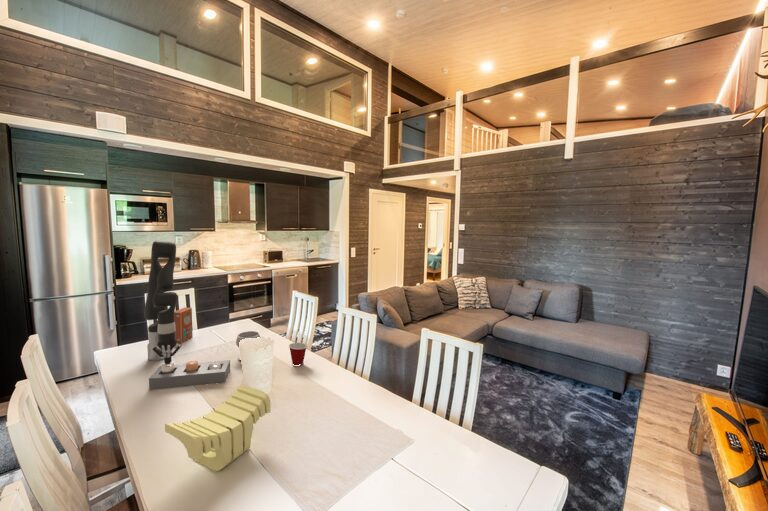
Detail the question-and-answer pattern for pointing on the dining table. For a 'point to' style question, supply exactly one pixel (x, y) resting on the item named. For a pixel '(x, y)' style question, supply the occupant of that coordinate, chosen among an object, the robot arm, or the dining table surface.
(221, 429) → the slatted curved stool
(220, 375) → the console
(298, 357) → the plastic cup
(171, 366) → the left knob
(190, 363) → the middle knob
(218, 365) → the right knob
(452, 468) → the dining table surface
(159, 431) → the dining table surface
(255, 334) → the chalice
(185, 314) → the orange cracker box
